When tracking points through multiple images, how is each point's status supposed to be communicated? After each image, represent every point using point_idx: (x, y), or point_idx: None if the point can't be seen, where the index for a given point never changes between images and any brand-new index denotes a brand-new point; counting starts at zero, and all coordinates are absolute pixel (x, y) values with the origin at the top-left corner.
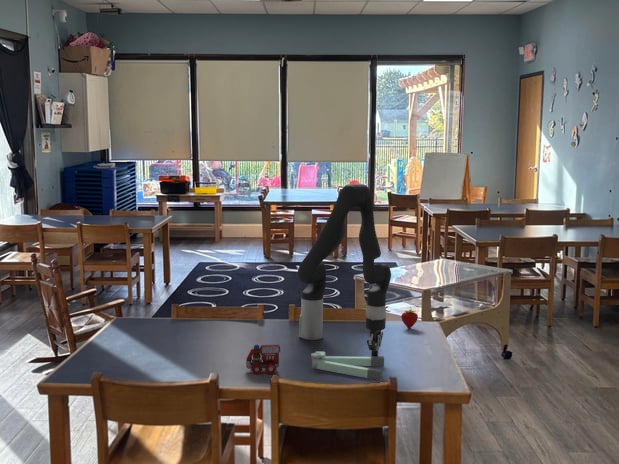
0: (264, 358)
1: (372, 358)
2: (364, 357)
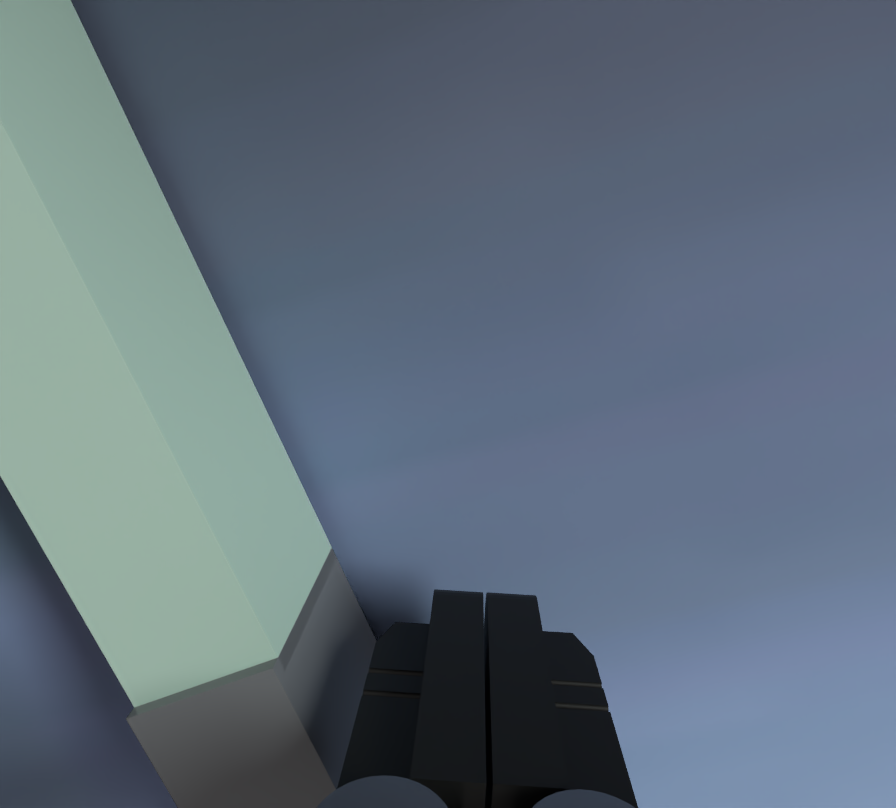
0: None
1: (150, 746)
2: (122, 508)
